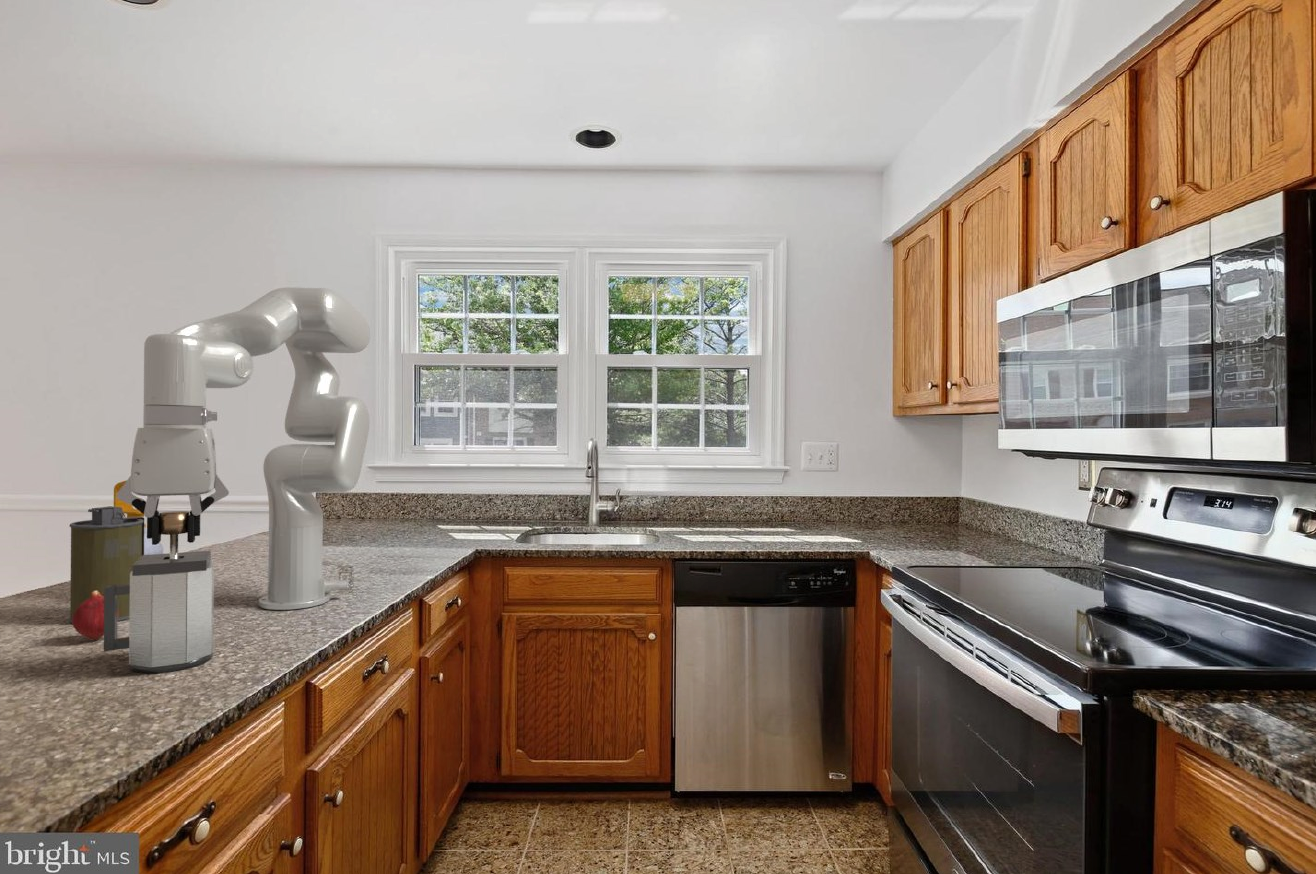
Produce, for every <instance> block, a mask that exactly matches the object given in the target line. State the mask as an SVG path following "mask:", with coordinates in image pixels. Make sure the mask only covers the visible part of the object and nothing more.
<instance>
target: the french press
mask: <svg viewBox="0 0 1316 874" xmlns="http://www.w3.org/2000/svg"><path fill="white" fill-rule="evenodd" d="M211 558H212V551H211V550H205V551H204V550H201V551H188V552H187V551H185V552H178V559H170V552H169V553H163V554H153V555H142V556H141V557H140V558H139V559H138V560H137V561H136V562H135V563H134V564H133V567H132V572H131V573H130V584H120V585H118V584H116V585H107V586H106V587H105V588H104V635H103V652H104V653H105V652H112V651H118V650H125V649H128V652H129V654H128V664H129V665H130V669H131V671H132V672H134V673H139V674H144V675H145V674H147V675H149V674H150V675H151V674H152V675H153V674H165V673H172V672H179V671H182V670H188V669H191V668H194V667H198V666H200V665H203V664H205V663H207V662H209V661H210V660H211V659H212V658H213V652H214V651H213V650H214V632H215V631H214V627H215V626H214V624H215V622H214V621H215V620H214V616H215V615H214V613H215V562H212V560H211ZM125 594H130V619H129V629H128V630H129V635H128V637H127V636H126V637H120V638H119V637H118V621H117V614H118V595H125Z"/></svg>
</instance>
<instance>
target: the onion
mask: <svg viewBox="0 0 1316 874" xmlns="http://www.w3.org/2000/svg"><path fill="white" fill-rule="evenodd" d="M118 617H119V611H118V614H117V622H119V621H118ZM72 623H73V624H72ZM72 623H71V624H72V626H73V628H74V629H75V631H76V632H77V633H78V634H80V635H81V636H83V637H85V638H88V639H89V640H91V641H98V640H99V639H101V638H102V637H104V597H103V596H102V595H101V594H100V593H99V592H98V591H93V592H92V595H91V597H90V598H89V599H87V600H86V601H84V602H83V603H81V604H80V605H79V606H78V607H77V609H76V610H75V612H74V614H73V616H72Z"/></svg>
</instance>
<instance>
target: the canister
mask: <svg viewBox="0 0 1316 874" xmlns="http://www.w3.org/2000/svg"><path fill="white" fill-rule="evenodd" d="M87 512H89V513H91V519H87V520H81V521H79V520H78V521H75V522H71V523H70V524H69V528H70V598H69V599H70V603H69V605H70V608H69V609H70V613H69V614H70V615H69V618H68V622H69V623H71V624H72V616H73V614H74V612H75V610H76V609H77V607H78V606H79V605H80V604H81V603H83V602H84V601H86V600H87V599H89V598H90V597H91V595H92V592H93V591H98V592H99V593H100V594H101V595H102V596H103V597H104V588H105V587H106V586H107V585H116V584H118V585H120V584H130V573H131V572H132V567H133V564H134V563H135V562H136V561H137V560H138V559H139V558H140V557H141V556H142V555H144V524H145V516H144V517H127V516H126V514H124V513H123V510H122V508H121V507H114V506H103V507H102V506H99V507H94V508H93V507H91V508H89V509H88V510H87ZM136 518H137V519H136ZM118 611H119V617H118V621H117V622H123V621H127V620H130V594H125V595H118ZM126 619H127V620H126ZM122 620H123V621H122Z"/></svg>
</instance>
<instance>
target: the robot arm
mask: <svg viewBox="0 0 1316 874" xmlns="http://www.w3.org/2000/svg"><path fill="white" fill-rule="evenodd" d="M370 339H371V331H370V327H369V324H368V322H367V320H366V318H365V317H364V315H363V314H362V313H361V312H360V311H359V310H358V309H356V308H355V307H354V306H353V305H352V304H351V303H350V302H349V301H348V300H347V299H346V298H345V297H343V296H342V295H341V294H339V293H337V292H335V291H333V290H332V289H329V288H325V287H280V288H275V289H272V290H271V291H269V292H267V293H266V294H265V295H262V296H261V297H259V298H257V299H256V300H255V301H253V302H252V303H250V304H248V305H247V306H245V307H244V308H242V309H240V310H238V311H233V312H230V313H229V312H228V313H226V314H222V315H218V316H214V317H212V318H208V319H204V320H200V321H196V322H193V323H190V324H187V325H184V326H182V327H179V328H178V329H175V330H174V331H172V332H170V333H155V334H152V335H149V336H148V337H146V338H145V341H144V344H143V345H144V346H143V418H142V419H143V423H142V424H143V426H142V427H137V430H136V432H135V433H136V434H135V438H134V443H133V448H132V456H131V457H132V458H131V466H130V467H131V468H130V476H129V477H128V479H126V480H127V481H126V480H125V481H126V483H125V484H124V485H123V486H122V488H121V489H120V490H119V492H118V493H117V494H116V498H117V499H119V500H121V501H123V502H125V503H127V504H130V505H132V507H133V508H134V509H137V510H139V511H140V512H141V513H143V514H144V518H146V535H147V539H151V538H152V545H157V544H159V543H161V541H162V534H159V513H160V512H159V510H158V508H159V504H160V498H161V497H162V496H163V497H165V496H166V497H167V496H168V497H169V496H188V499H189V504H190V509H191V510H189V516H188V533H186V534H187V540H186V541H187V543H189V544H191V543H194V542H195V540H196V537H200V535H201V514H203V512H204V511H206V510H207V509H208V508H209V507H210V506H211V505H213V504H215V503H216V502H218V501H220V500H222V499H223V498H225V497H227V496H229V493H230V492H229V490H228V488H227V487H226V485H225V484H224V483H223V481H222V480H221V479H220V477H219V476H218V474H217V460H216V459H217V458H216V456H217V455H216V446H215V445H216V444H215V438H214V433H213V429H212V428H207V426H206V425H207V423H209V422H212V421H214V422H215V421H218V412H217V411H211V410H209V409H207V389H233V388H238V387H241V386H243V385H245V384H246V383H247V382H248V381H249V380H250V379H251V378H252V377H253V372H254V368H255V367H254V360H253V358H254V357H259V356H262V355H268V354H270V353H273V352H274V351H276V350H277V349H278V348H279V347H280V346H282V345H283V344H285V346H286V349H287V352H288V353H289V356H290V359H291V361H292V364H293V367H294V381H293V387H292V389H291V393H290V396H289V401H288V405H287V409H286V413H285V419H284V430H285V433H286V434H287V435H288V437H289V438H291V439H293V440H296V441H299V442H311V443H314V444H311V443H310V444H307V443H305V444H304V443H303V444H302V443H301V444H300V443H299V444H298V443H292V444H282V445H278V446H277V447H275V448H273V449H271V450H269V452H268V453H267V454H266V455H265V458H264V460H263V468H262V469H263V476H264V480H265V486H266V491H267V498H268V559H267V560H268V564H267V565H268V567H267V568H268V571H267V573H268V579H267V594H266V595H265V596H262V597H260V598H259V599H258V606H259V607H260V608H261V609H265V610H272V611H273V610H274V611H275V610H276V611H282V610H283V611H285V610H288V611H289V610H297V609H306V608H311V607H312V608H313V607H316V606H320V605H323V604H326V603H327V602H329V601H330V600H331V593H330V592H331V591H346V590H348V579H342V580H340V579H332V580H330V579H325V576H324V574H323V547H324V546H323V544H324V543H323V541H324V538H323V535H324V529H323V528H324V527H323V526H324V524H323V523H324V514H323V511H322V507H321V505H320V503H319V502H318V500H317V499H316V497H315V496H314V494H313V493H323V494H326V493H327V494H329V493H333V494H335V493H347V492H349V491H352V490H353V489H354V488H355V487H356V485H357V484H358V481H359V480H360V475H361V471H362V467H363V462H364V457H365V452H366V446H367V442H368V436H369V430H370V414H369V410H368V407H367V405H366V404H365V402H363V400H361V399H359V398H356V397H354V396H345V395H344V396H341V395H339V396H338V394H339V390H340V389H339V388H340V383H341V379H340V376H339V373H338V372H337V370H336V368H335V367H334V366H333V365H332V363H331V362H330V361H329V360H328V359H327V357H326V356H325V355H324V353H326V354H327V353H329V354H330V353H331V354H332V353H333V354H335V353H337V354H356V353H360V352H363V351H364V350H365V349H366V348H367V346H368V345H369V342H370V341H371V340H370ZM315 443H334V444H315ZM213 490H215V491H214V493H212V494H210V495H208V496H206V497H205V498H204V499H203V500H202V495H204V494H208V493H211V492H212V491H213ZM134 494H135V495H134ZM138 496H142V497H146V501H145V500H144V499H143V498H141V497H138Z"/></svg>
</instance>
